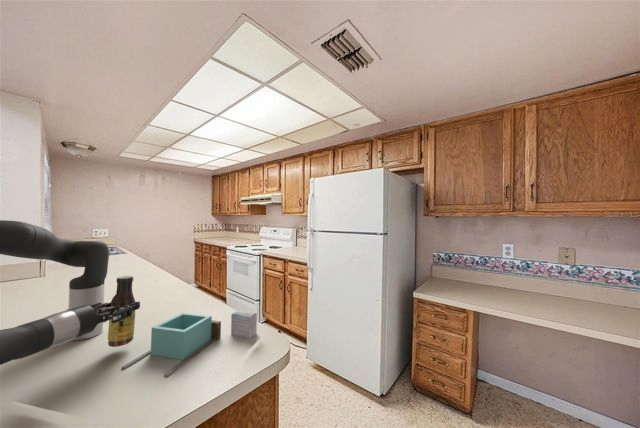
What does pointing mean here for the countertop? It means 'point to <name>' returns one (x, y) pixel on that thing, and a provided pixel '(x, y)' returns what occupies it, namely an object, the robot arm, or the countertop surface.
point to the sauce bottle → (122, 329)
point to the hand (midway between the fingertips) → (130, 303)
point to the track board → (214, 336)
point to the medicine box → (244, 323)
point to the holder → (180, 335)
